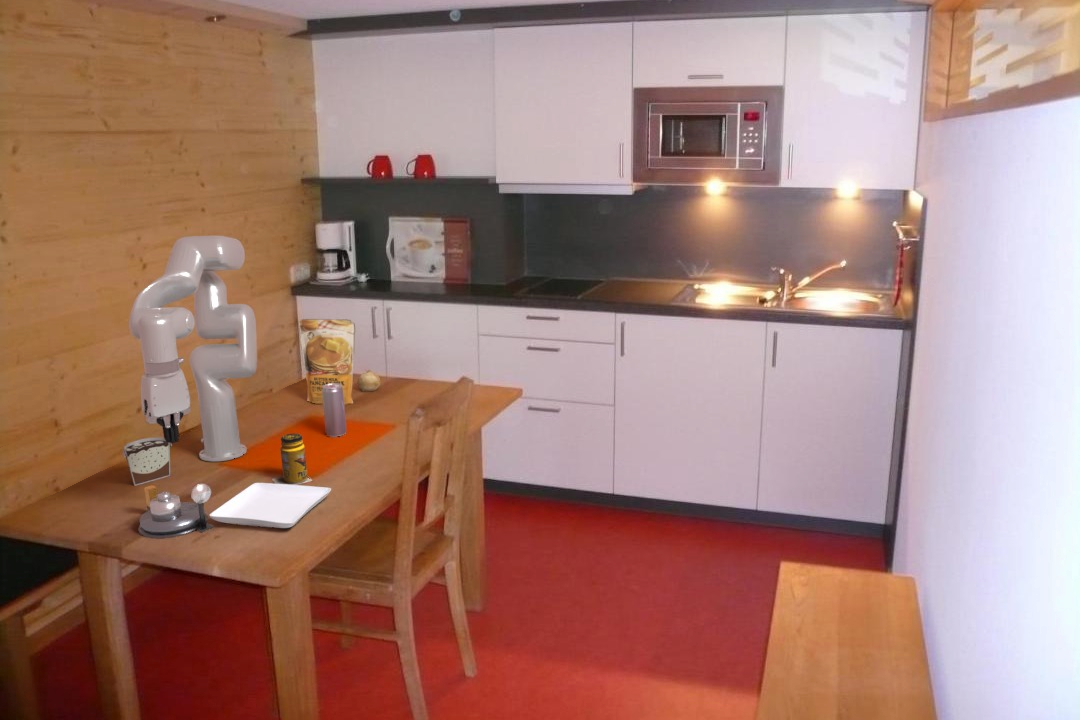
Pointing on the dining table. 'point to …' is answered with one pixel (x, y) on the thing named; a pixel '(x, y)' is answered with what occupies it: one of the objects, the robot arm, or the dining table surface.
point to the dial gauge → (201, 504)
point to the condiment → (293, 461)
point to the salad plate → (270, 505)
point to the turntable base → (169, 534)
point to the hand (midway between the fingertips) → (172, 441)
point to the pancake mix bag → (327, 355)
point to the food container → (148, 459)
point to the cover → (165, 507)
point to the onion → (369, 381)
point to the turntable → (178, 525)
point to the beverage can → (334, 409)
